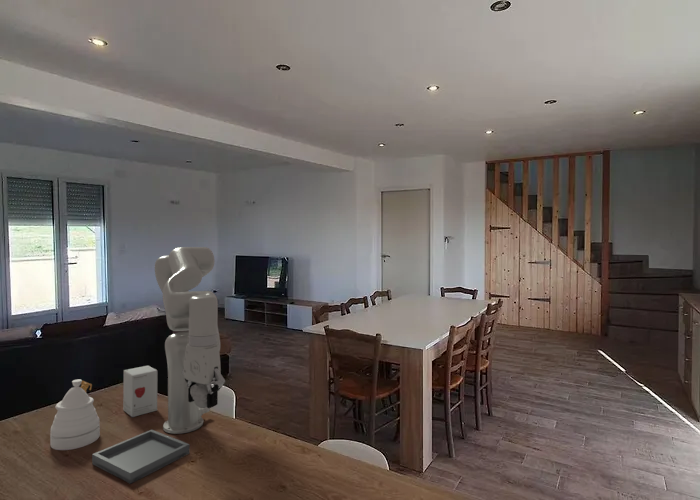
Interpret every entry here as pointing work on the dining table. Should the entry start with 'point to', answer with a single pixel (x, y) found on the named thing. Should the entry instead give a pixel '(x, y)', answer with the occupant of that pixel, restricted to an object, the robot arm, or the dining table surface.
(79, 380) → the honey pot
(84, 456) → the dining table surface
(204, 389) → the frog figurine
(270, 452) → the dining table surface
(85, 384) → the figurine
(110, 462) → the tray
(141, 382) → the supplement box
